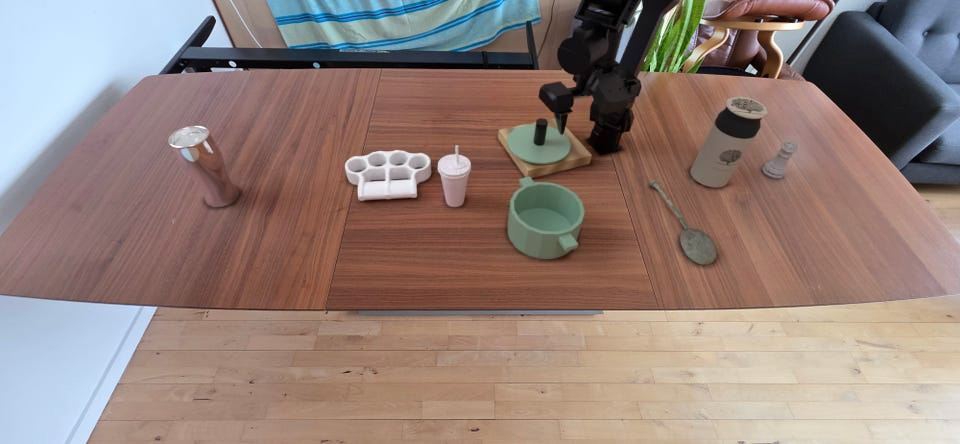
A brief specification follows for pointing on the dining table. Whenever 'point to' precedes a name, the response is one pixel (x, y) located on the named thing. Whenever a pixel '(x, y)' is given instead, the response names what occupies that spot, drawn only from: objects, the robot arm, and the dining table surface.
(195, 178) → the beer glass
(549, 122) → the board
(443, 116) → the dining table surface
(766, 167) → the rook chess piece
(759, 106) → the travel mug
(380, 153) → the knuckle duster
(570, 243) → the pot
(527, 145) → the lid
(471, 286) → the dining table surface
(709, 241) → the soupspoon
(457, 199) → the smoothie
